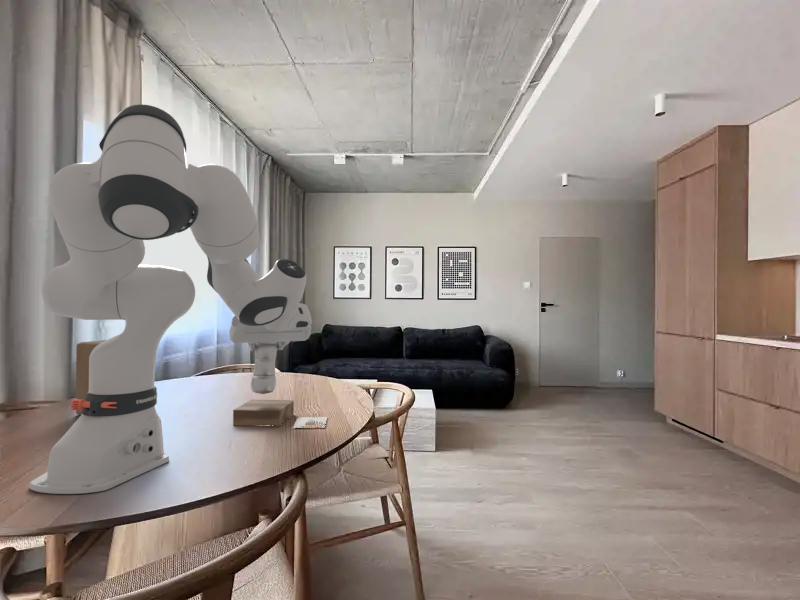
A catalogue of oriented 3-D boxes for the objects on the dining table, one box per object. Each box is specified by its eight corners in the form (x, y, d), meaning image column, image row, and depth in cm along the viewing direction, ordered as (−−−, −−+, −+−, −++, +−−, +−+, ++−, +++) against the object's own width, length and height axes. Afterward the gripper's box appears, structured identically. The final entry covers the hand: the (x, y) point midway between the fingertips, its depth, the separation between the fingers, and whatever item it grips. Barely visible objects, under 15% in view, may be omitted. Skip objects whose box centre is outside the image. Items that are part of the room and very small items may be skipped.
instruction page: (325, 428, 112) (325, 426, 112) (292, 429, 111) (292, 427, 111) (327, 417, 122) (327, 416, 122) (297, 418, 121) (297, 417, 121)
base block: (279, 426, 113) (279, 411, 113) (233, 425, 114) (233, 409, 114) (293, 414, 125) (293, 400, 125) (251, 413, 126) (251, 399, 126)
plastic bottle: (245, 394, 116) (251, 317, 117) (257, 390, 123) (262, 318, 124) (268, 396, 115) (274, 319, 116) (279, 392, 122) (284, 319, 123)
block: (73, 415, 122) (74, 342, 122) (107, 407, 131) (108, 339, 131) (101, 418, 119) (102, 343, 119) (134, 410, 129) (134, 340, 129)
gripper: (235, 323, 104) (226, 360, 113) (318, 322, 115) (304, 355, 124) (231, 304, 108) (223, 340, 117) (312, 305, 119) (299, 338, 127)
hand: (266, 348), depth 120 cm, fingers closed on plastic bottle, 6 cm apart
